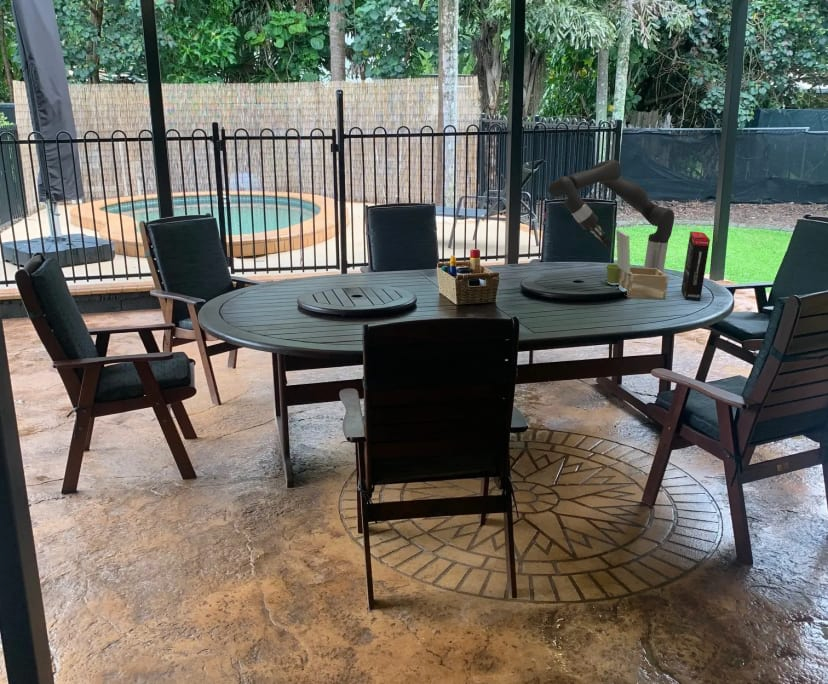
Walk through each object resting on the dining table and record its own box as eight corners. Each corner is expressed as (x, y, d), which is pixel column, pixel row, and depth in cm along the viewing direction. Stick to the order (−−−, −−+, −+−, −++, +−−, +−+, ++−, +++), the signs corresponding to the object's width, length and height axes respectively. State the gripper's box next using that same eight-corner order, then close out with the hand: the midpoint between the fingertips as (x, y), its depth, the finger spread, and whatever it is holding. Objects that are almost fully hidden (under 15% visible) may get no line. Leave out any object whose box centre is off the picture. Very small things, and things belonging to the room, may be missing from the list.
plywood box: (617, 288, 345) (621, 266, 342) (653, 290, 345) (656, 268, 342) (627, 297, 329) (631, 274, 326) (664, 299, 330) (668, 276, 327)
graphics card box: (700, 301, 330) (712, 238, 322) (684, 299, 331) (694, 236, 323) (695, 292, 346) (705, 232, 338) (679, 291, 348) (689, 230, 339)
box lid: (620, 267, 342) (617, 267, 342) (619, 229, 336) (616, 229, 336) (630, 275, 327) (627, 275, 327) (629, 235, 322) (626, 236, 322)
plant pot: (602, 285, 348) (605, 266, 346) (604, 281, 357) (606, 263, 354) (623, 288, 346) (626, 269, 343) (624, 284, 354) (627, 265, 352)
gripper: (595, 212, 323) (620, 243, 327) (588, 208, 335) (612, 237, 339) (581, 224, 324) (606, 254, 328) (574, 219, 337) (598, 248, 341)
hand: (609, 245), depth 334 cm, fingers closed
